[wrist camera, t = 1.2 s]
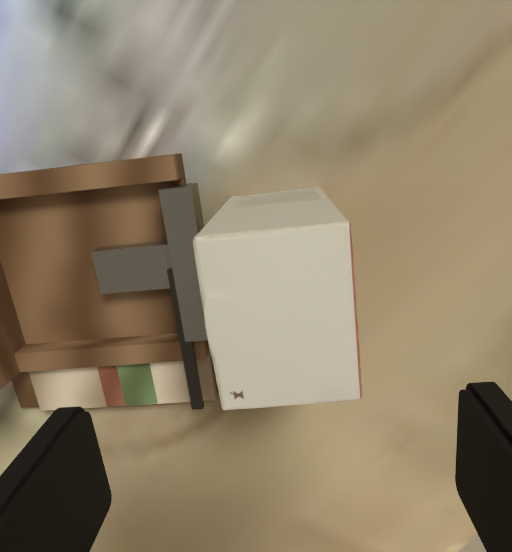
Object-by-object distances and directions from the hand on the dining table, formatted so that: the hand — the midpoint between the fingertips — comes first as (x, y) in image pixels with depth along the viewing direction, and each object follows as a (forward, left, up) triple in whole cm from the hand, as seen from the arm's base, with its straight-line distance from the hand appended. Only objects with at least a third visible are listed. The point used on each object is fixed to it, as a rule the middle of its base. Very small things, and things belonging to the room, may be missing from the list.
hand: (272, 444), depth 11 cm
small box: (0, 0, -20) cm, 20 cm away
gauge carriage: (+9, +3, -19) cm, 21 cm away
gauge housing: (+14, +2, -20) cm, 24 cm away
